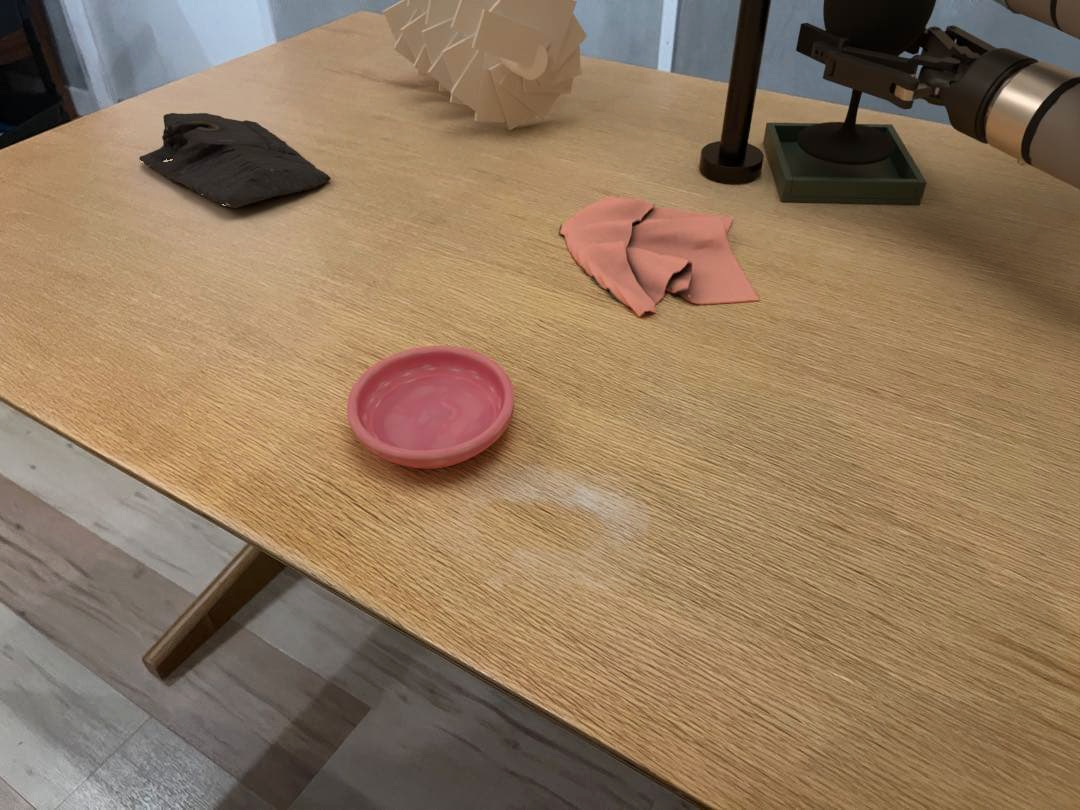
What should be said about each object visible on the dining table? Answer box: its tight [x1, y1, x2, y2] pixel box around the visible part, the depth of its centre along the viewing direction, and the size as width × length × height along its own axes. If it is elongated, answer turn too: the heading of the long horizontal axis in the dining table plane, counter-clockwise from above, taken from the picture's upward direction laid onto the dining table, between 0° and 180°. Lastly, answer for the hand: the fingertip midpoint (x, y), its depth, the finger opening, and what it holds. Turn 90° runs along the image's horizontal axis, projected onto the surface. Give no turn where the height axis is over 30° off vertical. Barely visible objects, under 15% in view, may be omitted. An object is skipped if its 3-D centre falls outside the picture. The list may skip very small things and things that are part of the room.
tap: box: [698, 0, 772, 185], centre depth 83 cm, size 10×7×34 cm, turn 86°
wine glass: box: [797, 0, 937, 165], centre depth 84 cm, size 10×10×20 cm
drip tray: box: [762, 122, 928, 206], centre depth 93 cm, size 15×15×3 cm
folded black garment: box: [138, 112, 332, 209], centre depth 94 cm, size 15×22×5 cm
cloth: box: [558, 195, 760, 318], centre depth 80 cm, size 20×22×2 cm
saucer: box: [346, 345, 516, 470], centre depth 62 cm, size 12×12×3 cm
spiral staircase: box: [382, 0, 588, 131], centre depth 103 cm, size 18×18×25 cm
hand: (838, 29), depth 87 cm, fingers closed on wine glass, 9 cm apart
